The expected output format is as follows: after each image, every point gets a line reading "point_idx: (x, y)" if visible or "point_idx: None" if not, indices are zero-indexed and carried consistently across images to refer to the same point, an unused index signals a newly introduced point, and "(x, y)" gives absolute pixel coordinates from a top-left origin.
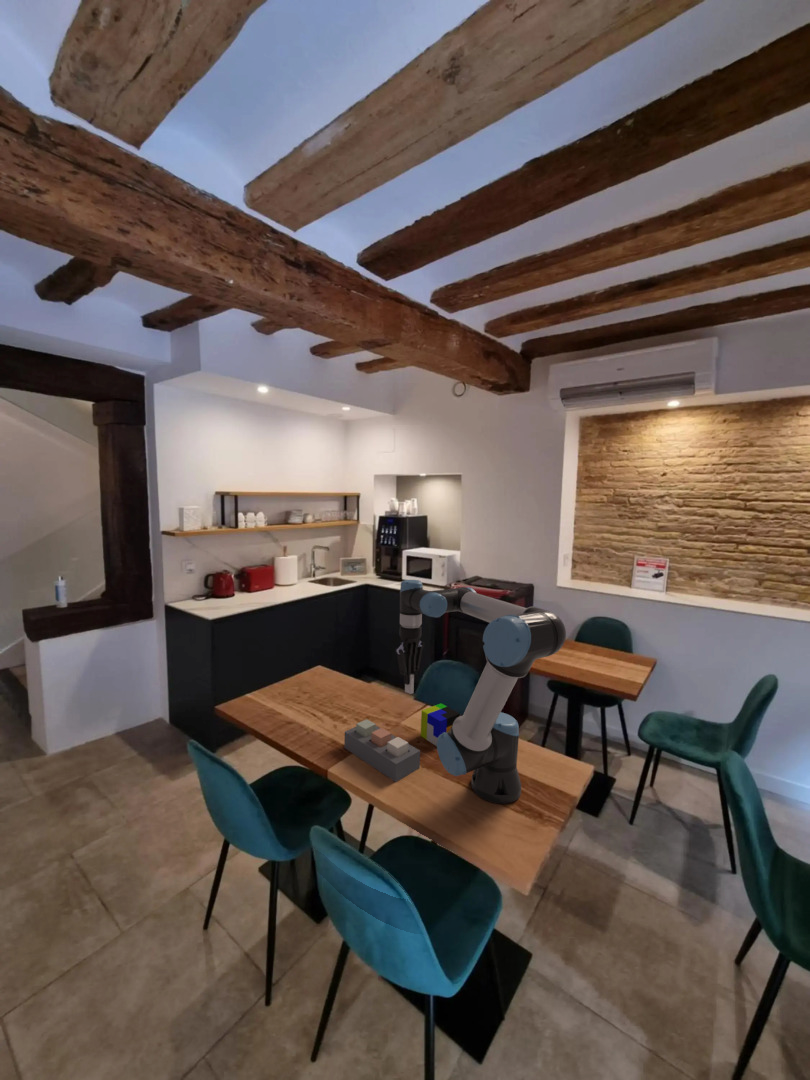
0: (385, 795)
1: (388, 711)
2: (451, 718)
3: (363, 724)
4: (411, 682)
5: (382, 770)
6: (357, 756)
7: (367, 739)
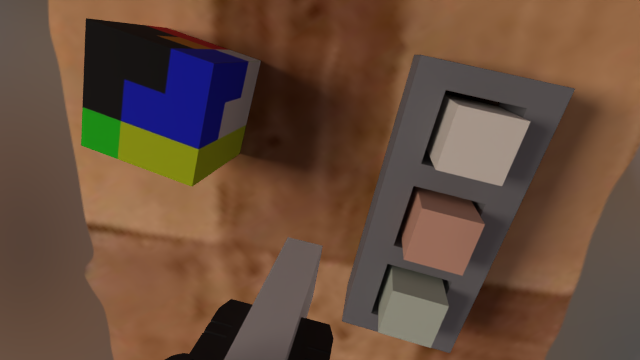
0: (633, 70)
1: (191, 300)
2: (146, 38)
3: (421, 325)
4: (290, 314)
5: None
6: None
7: None
